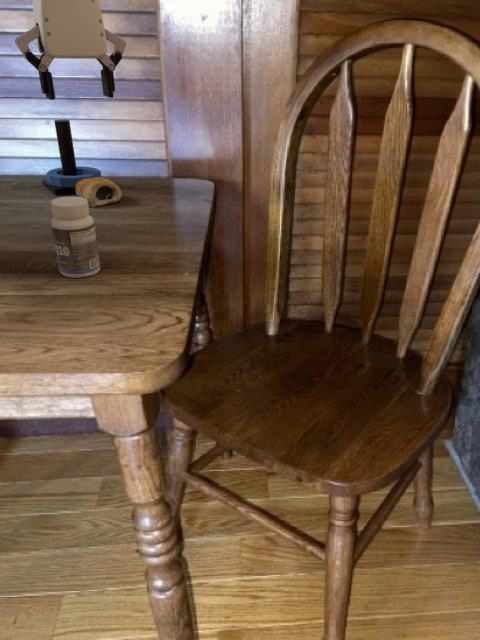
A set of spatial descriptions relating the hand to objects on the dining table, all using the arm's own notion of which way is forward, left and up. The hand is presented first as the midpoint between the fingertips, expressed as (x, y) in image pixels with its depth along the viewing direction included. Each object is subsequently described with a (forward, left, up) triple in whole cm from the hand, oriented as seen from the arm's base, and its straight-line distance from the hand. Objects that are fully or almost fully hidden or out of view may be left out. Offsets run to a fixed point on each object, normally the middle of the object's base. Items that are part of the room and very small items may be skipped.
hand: (80, 97), depth 95 cm
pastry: (-2, -10, -14) cm, 18 cm away
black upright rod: (-4, 0, -14) cm, 15 cm away
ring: (-3, 0, -13) cm, 14 cm away
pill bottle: (-15, -39, -14) cm, 44 cm away
